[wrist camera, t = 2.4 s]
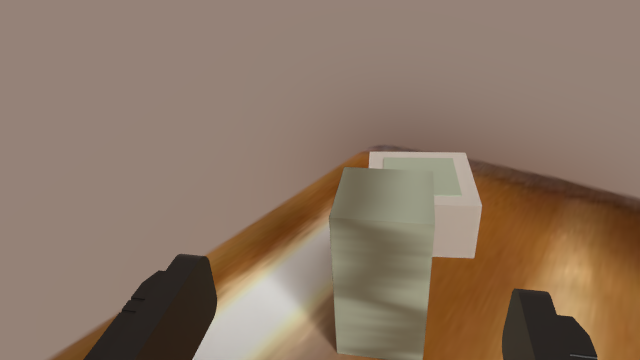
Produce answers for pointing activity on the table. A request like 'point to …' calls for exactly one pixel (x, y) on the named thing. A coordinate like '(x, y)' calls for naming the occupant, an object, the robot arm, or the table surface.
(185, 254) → the robot arm
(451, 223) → the cream base block
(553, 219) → the table surface
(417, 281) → the sage pillar
